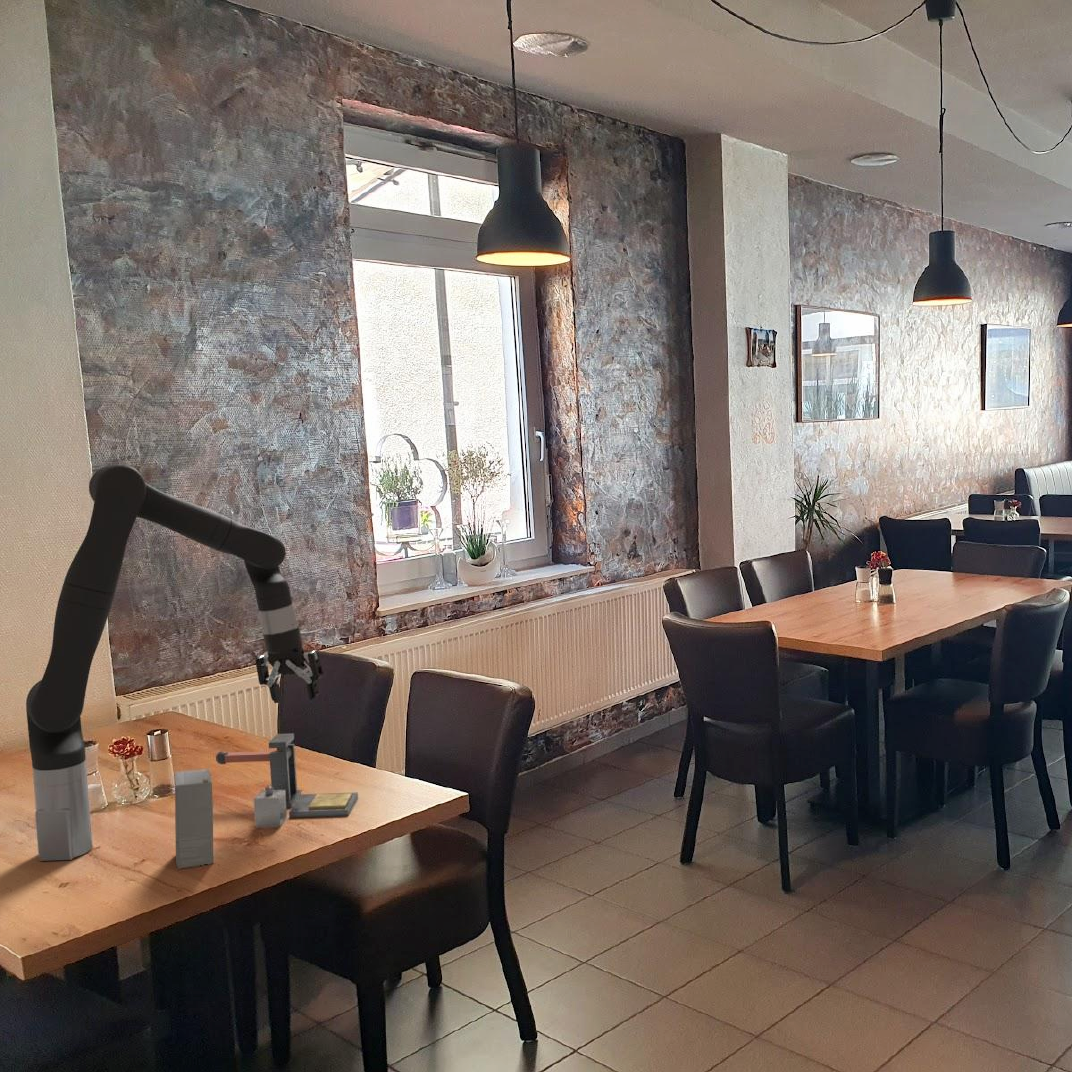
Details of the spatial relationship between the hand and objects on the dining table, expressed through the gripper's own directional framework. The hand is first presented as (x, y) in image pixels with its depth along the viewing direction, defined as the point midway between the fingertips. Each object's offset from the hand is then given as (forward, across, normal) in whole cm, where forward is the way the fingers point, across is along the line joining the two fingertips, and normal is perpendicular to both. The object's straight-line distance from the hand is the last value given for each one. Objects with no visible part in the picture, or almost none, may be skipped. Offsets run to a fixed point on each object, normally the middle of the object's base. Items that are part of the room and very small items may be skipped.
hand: (296, 700), depth 221 cm
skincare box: (+17, -5, -36) cm, 40 cm away
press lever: (+11, -11, -5) cm, 16 cm away
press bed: (+21, +2, -5) cm, 22 cm away
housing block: (+20, -1, -16) cm, 26 cm away
